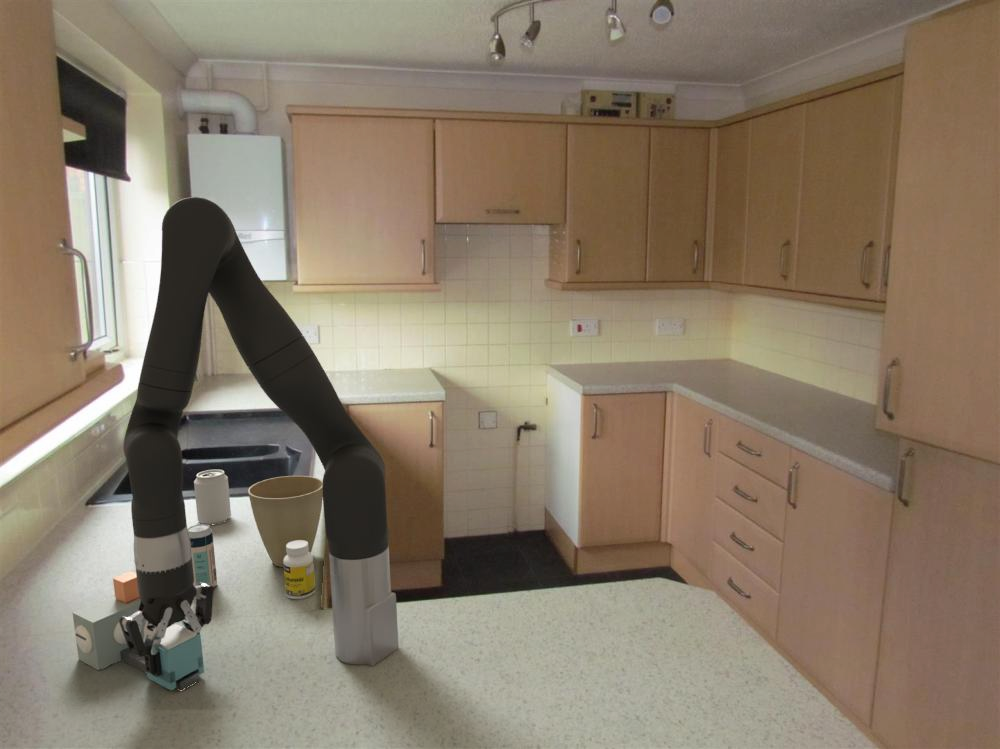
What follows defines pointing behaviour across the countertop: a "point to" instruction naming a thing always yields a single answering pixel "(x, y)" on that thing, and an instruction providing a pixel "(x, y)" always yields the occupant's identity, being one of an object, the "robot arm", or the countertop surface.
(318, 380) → the robot arm
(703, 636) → the countertop surface
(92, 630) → the cabinet
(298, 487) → the plant pot
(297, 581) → the supplement bottle
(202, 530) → the beer can
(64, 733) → the countertop surface
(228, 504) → the can
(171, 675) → the box
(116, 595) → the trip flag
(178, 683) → the rail
